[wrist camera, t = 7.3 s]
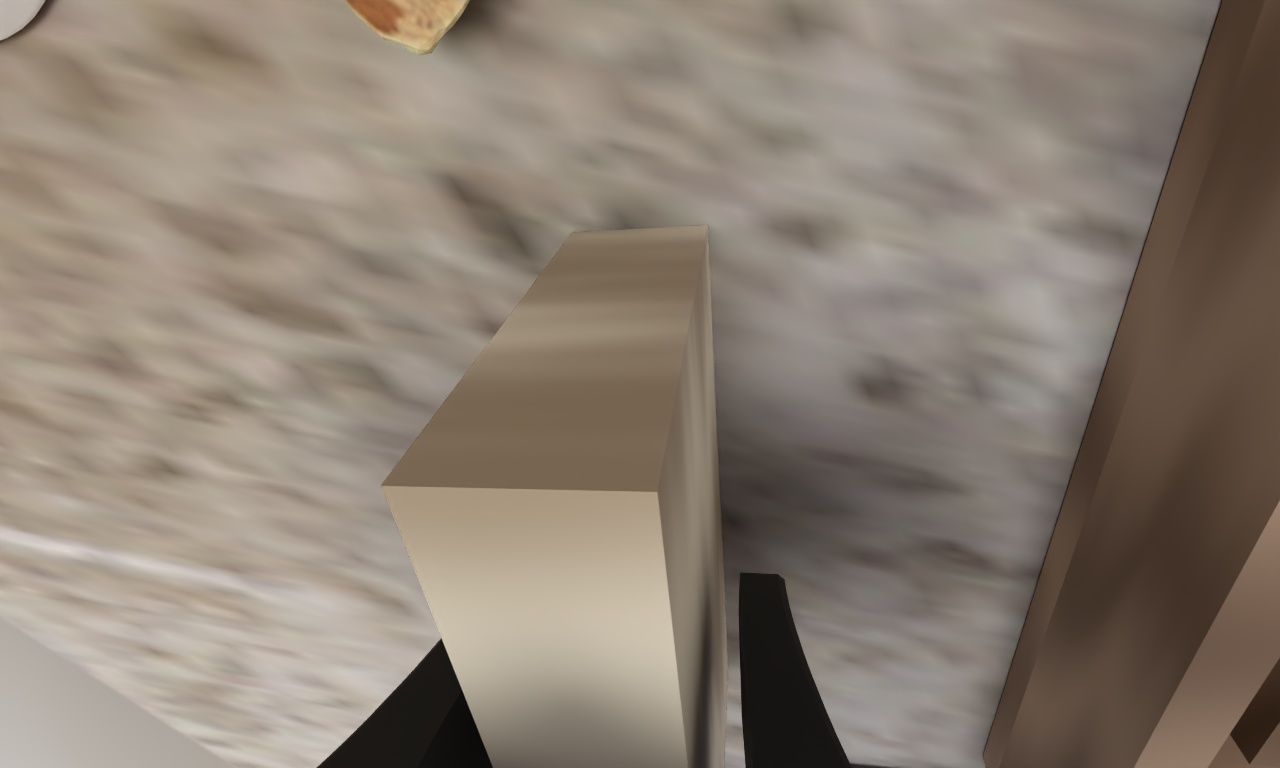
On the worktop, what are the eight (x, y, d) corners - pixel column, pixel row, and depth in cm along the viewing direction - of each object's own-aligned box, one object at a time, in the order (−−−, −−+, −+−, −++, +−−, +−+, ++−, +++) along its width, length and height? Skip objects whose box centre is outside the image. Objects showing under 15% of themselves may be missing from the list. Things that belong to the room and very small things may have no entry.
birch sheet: (728, 662, 17) (715, 1016, 11) (640, 656, 17) (583, 994, 12) (707, 222, 11) (657, 491, 5) (574, 230, 11) (381, 486, 5)
